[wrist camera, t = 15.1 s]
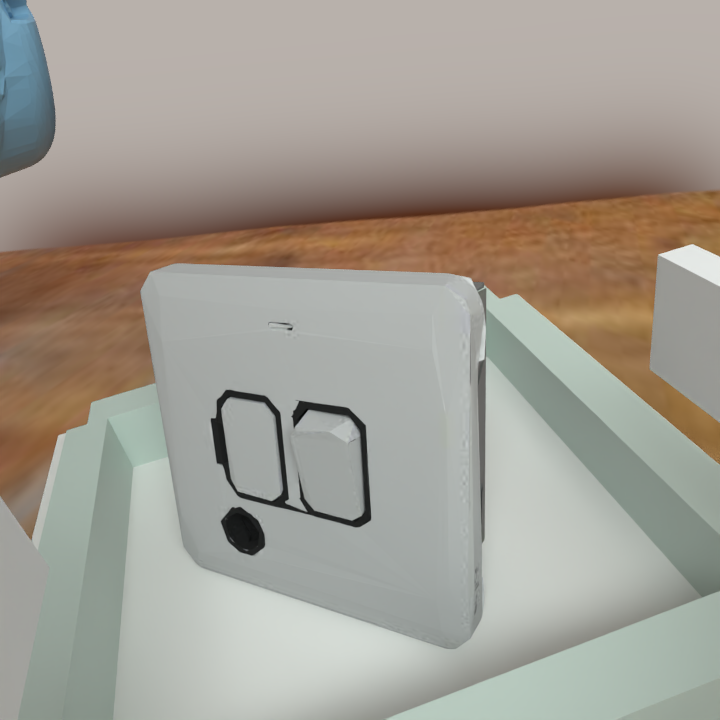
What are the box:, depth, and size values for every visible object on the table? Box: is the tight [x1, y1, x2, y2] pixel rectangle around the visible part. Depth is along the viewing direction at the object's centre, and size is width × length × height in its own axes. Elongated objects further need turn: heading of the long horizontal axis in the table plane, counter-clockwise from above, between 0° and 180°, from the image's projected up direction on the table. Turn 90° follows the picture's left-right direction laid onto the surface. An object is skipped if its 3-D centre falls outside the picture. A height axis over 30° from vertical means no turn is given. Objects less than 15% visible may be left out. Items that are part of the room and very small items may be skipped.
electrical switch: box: [140, 264, 486, 649], centre depth 17 cm, size 9×5×9 cm, turn 64°
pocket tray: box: [17, 285, 720, 720], centre depth 19 cm, size 22×22×4 cm
